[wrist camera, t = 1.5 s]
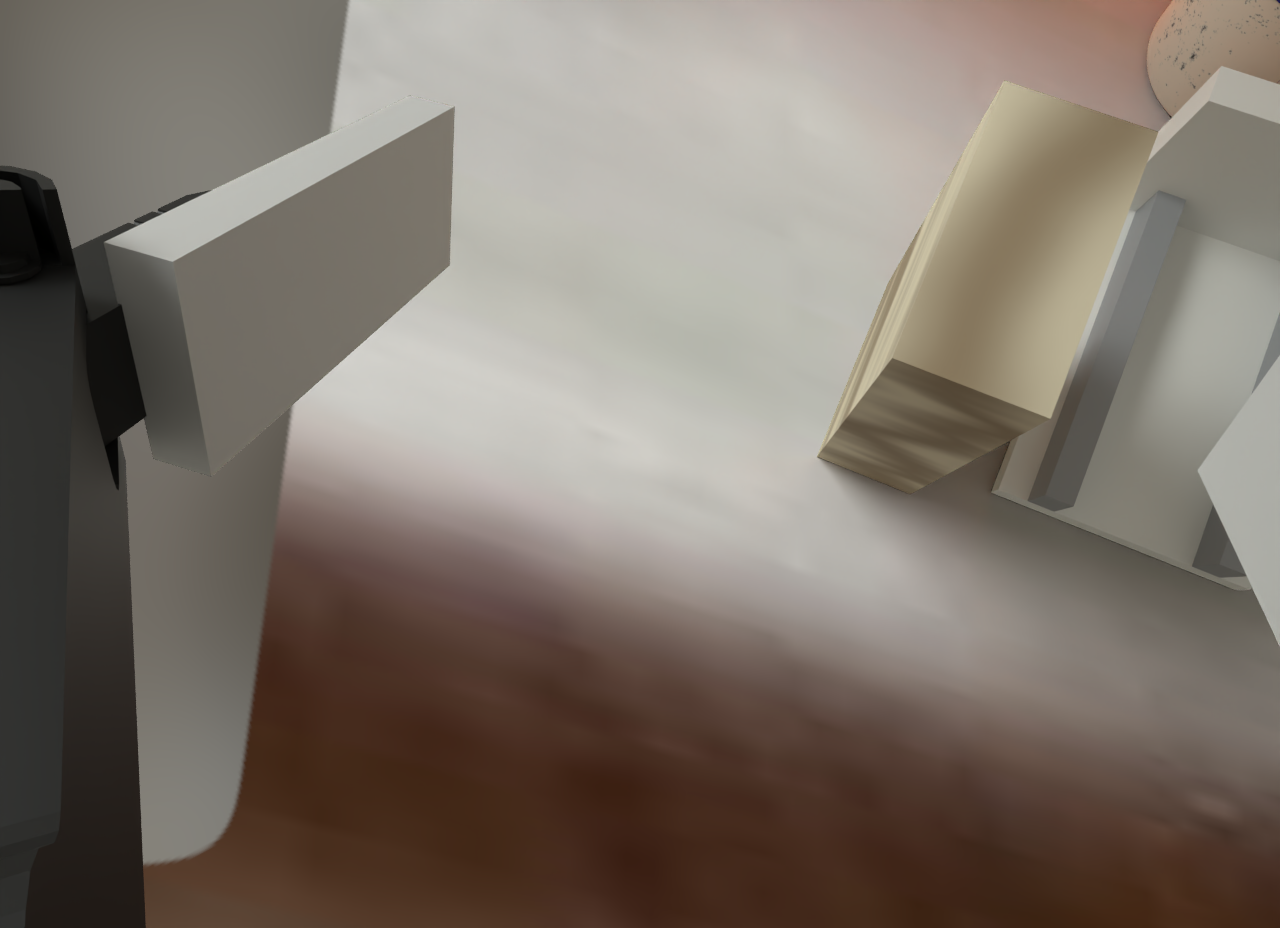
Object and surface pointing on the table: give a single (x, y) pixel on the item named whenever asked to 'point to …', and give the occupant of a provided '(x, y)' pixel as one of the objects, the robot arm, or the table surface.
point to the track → (1170, 340)
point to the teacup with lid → (1211, 45)
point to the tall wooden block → (990, 292)
